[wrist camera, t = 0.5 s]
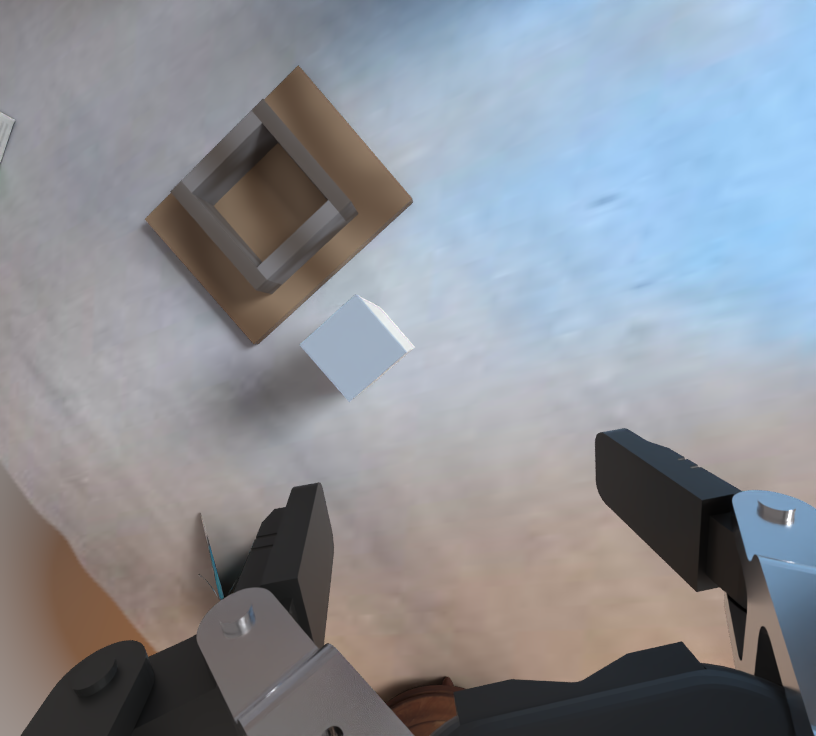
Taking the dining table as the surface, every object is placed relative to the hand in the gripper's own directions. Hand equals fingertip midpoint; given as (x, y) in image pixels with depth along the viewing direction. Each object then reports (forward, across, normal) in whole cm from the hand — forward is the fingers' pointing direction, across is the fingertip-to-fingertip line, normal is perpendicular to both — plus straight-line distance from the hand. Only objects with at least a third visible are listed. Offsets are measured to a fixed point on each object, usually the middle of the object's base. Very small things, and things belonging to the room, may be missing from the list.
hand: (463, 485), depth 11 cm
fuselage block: (+24, +2, 0) cm, 24 cm away
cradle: (+27, +8, -12) cm, 31 cm away
